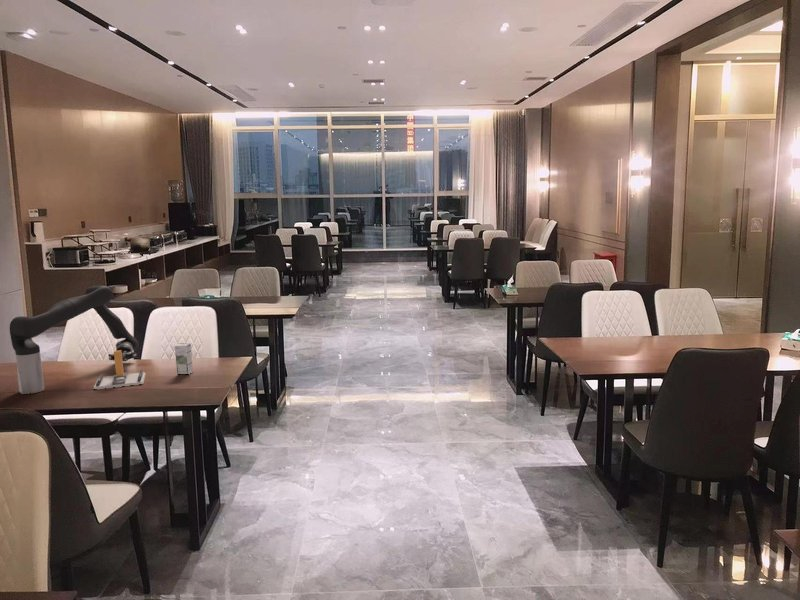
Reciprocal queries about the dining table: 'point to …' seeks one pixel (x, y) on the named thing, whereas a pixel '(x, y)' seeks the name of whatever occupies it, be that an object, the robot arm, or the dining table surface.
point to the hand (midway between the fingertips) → (120, 359)
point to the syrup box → (183, 358)
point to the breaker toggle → (119, 364)
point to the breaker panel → (120, 380)
